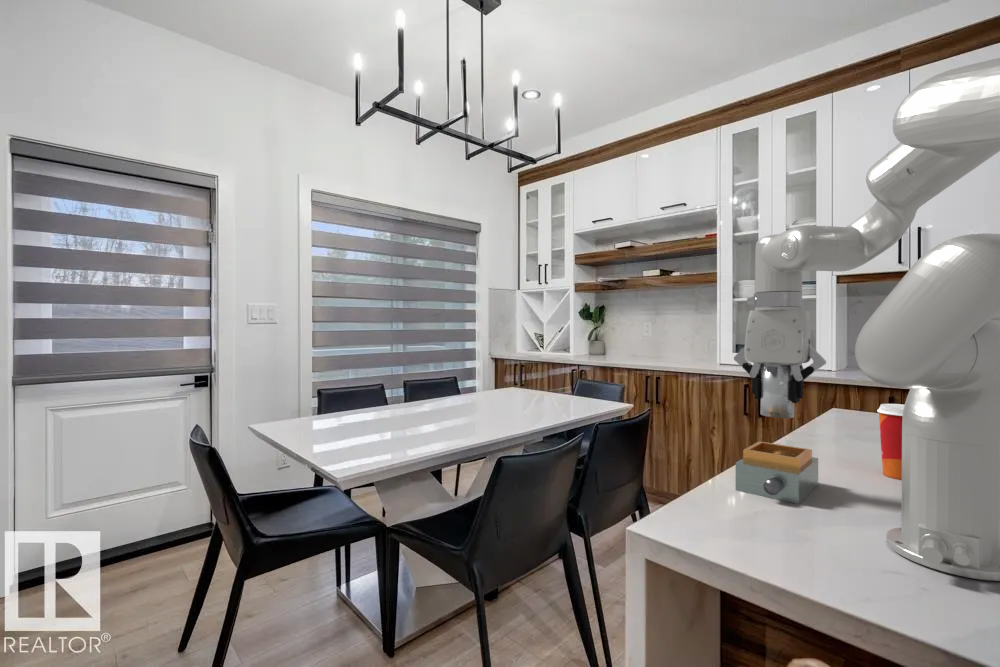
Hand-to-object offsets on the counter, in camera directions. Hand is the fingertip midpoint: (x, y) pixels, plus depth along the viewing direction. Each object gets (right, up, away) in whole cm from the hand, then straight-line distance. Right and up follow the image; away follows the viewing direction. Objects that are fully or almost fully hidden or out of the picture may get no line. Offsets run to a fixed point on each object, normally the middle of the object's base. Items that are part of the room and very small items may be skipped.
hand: (777, 399), depth 87 cm
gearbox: (-1, -16, -1) cm, 16 cm away
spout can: (0, -3, 0) cm, 3 cm away
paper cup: (+28, -16, +6) cm, 33 cm away
